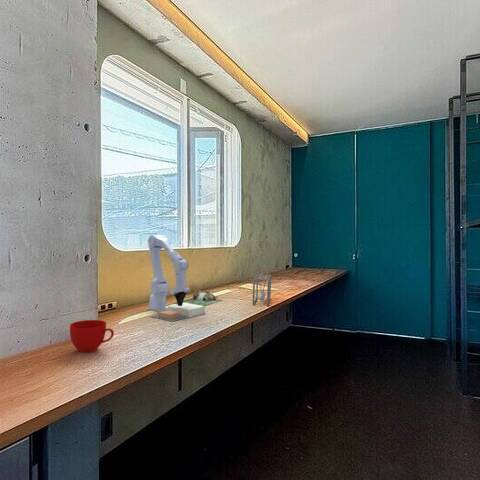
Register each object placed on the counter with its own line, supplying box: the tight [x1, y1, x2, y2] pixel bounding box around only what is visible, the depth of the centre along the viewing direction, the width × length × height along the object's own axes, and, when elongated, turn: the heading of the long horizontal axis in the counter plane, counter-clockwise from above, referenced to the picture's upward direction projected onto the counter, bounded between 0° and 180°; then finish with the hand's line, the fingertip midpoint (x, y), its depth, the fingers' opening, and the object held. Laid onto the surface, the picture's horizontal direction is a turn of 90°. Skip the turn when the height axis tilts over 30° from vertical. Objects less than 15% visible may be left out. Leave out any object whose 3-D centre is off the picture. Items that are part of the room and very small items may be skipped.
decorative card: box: [173, 288, 223, 307], centre depth 246 cm, size 33×8×20 cm
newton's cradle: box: [252, 273, 272, 306], centre depth 252 cm, size 30×10×18 cm, turn 173°
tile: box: [157, 310, 180, 319], centre depth 198 cm, size 9×7×2 cm
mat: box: [150, 314, 189, 323], centre depth 198 cm, size 16×12×1 cm
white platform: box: [166, 303, 206, 318], centre depth 210 cm, size 16×14×4 cm
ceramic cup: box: [69, 319, 115, 353], centre depth 141 cm, size 13×17×10 cm
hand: (179, 305), depth 205 cm, fingers closed
